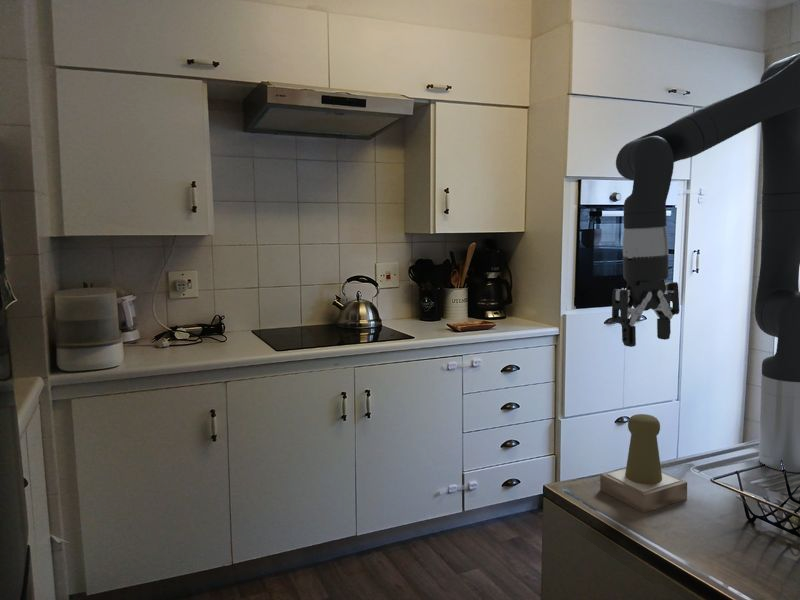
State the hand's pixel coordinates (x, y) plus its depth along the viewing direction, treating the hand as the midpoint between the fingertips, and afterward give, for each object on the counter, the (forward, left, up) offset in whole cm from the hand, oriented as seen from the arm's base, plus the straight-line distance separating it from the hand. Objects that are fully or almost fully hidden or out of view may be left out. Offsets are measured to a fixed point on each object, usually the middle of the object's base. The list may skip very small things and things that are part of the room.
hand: (646, 342), depth 111 cm
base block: (+6, +5, -26) cm, 27 cm away
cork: (+6, +5, -23) cm, 24 cm away
